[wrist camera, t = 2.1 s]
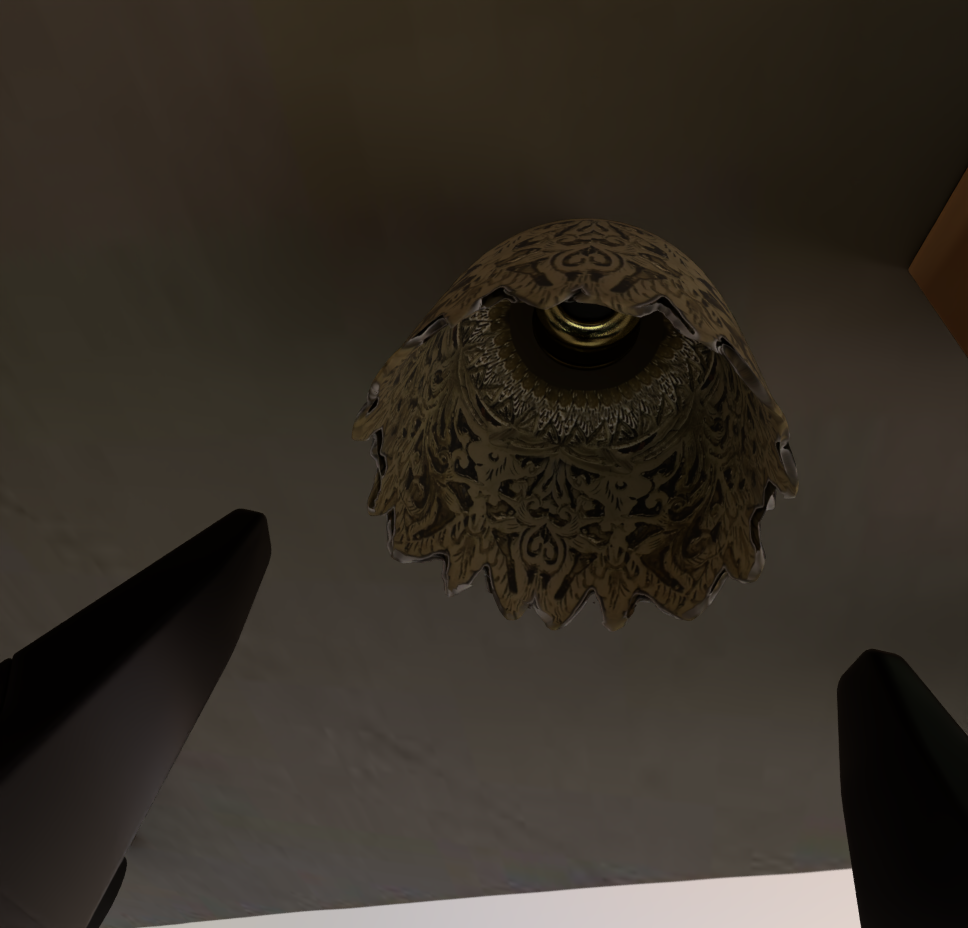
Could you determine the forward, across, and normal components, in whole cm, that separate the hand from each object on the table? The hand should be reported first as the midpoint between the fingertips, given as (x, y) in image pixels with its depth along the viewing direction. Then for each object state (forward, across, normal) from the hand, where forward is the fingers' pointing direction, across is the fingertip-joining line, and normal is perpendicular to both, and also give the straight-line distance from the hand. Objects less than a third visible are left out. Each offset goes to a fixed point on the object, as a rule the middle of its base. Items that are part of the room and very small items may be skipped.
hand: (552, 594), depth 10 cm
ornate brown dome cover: (+10, 0, 0) cm, 10 cm away
